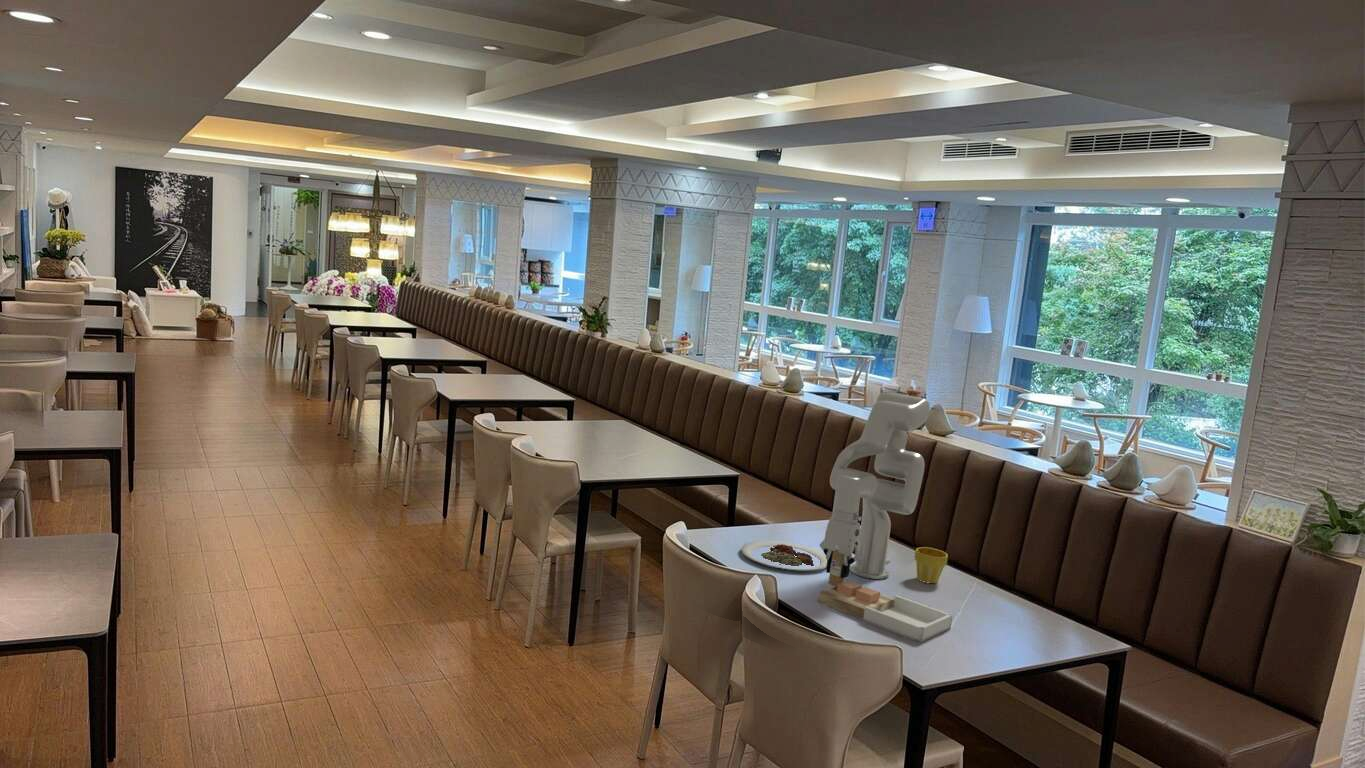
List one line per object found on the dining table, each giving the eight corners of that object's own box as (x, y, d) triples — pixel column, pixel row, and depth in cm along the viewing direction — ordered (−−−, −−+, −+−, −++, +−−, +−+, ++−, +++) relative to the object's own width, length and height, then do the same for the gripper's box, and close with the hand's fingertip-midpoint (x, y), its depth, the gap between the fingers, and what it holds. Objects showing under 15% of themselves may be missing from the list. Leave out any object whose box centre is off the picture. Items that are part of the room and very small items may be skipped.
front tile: (864, 595, 280) (865, 587, 280) (879, 600, 277) (880, 592, 276) (855, 598, 276) (856, 590, 276) (870, 603, 273) (871, 595, 273)
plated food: (772, 577, 296) (773, 567, 296) (724, 547, 323) (725, 538, 322) (848, 572, 311) (849, 562, 310) (796, 543, 337) (798, 534, 336)
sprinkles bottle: (825, 583, 283) (830, 540, 282) (833, 581, 287) (838, 538, 285) (838, 588, 280) (844, 544, 279) (846, 585, 284) (852, 542, 282)
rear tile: (845, 588, 284) (846, 580, 284) (860, 593, 281) (861, 585, 280) (836, 591, 280) (837, 583, 280) (851, 596, 277) (852, 588, 277)
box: (894, 608, 280) (896, 595, 280) (950, 628, 269) (952, 615, 268) (863, 620, 267) (864, 607, 267) (920, 642, 255) (922, 628, 255)
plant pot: (945, 588, 305) (950, 559, 303) (913, 583, 306) (917, 554, 305) (941, 577, 315) (945, 549, 314) (909, 573, 316) (913, 545, 315)
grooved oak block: (847, 591, 290) (848, 582, 290) (893, 608, 280) (894, 599, 279) (817, 601, 278) (819, 592, 278) (864, 619, 268) (866, 609, 267)
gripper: (876, 521, 278) (867, 581, 280) (828, 507, 289) (820, 564, 292) (862, 525, 273) (854, 585, 275) (814, 510, 284) (806, 568, 286)
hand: (837, 573), depth 283 cm, fingers closed on sprinkles bottle, 4 cm apart
